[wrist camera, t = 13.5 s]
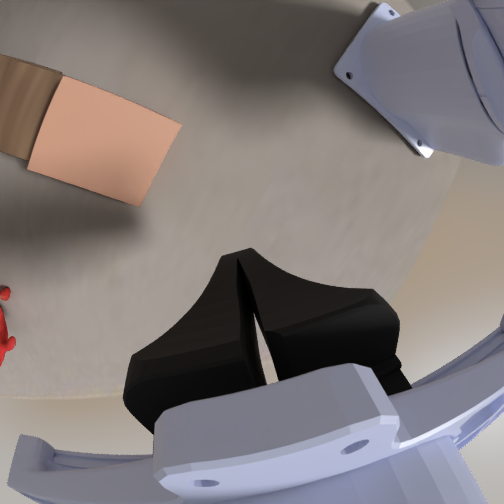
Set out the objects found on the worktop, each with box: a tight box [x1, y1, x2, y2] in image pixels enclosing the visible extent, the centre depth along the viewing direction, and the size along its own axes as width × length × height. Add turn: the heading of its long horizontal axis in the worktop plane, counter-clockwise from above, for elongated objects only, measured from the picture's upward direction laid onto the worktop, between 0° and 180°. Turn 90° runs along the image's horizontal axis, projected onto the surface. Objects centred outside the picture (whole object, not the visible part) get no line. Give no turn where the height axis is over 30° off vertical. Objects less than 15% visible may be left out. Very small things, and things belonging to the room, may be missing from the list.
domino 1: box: [0, 60, 65, 161], centre depth 11 cm, size 1×5×7 cm
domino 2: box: [27, 76, 182, 207], centre depth 12 cm, size 1×5×7 cm
